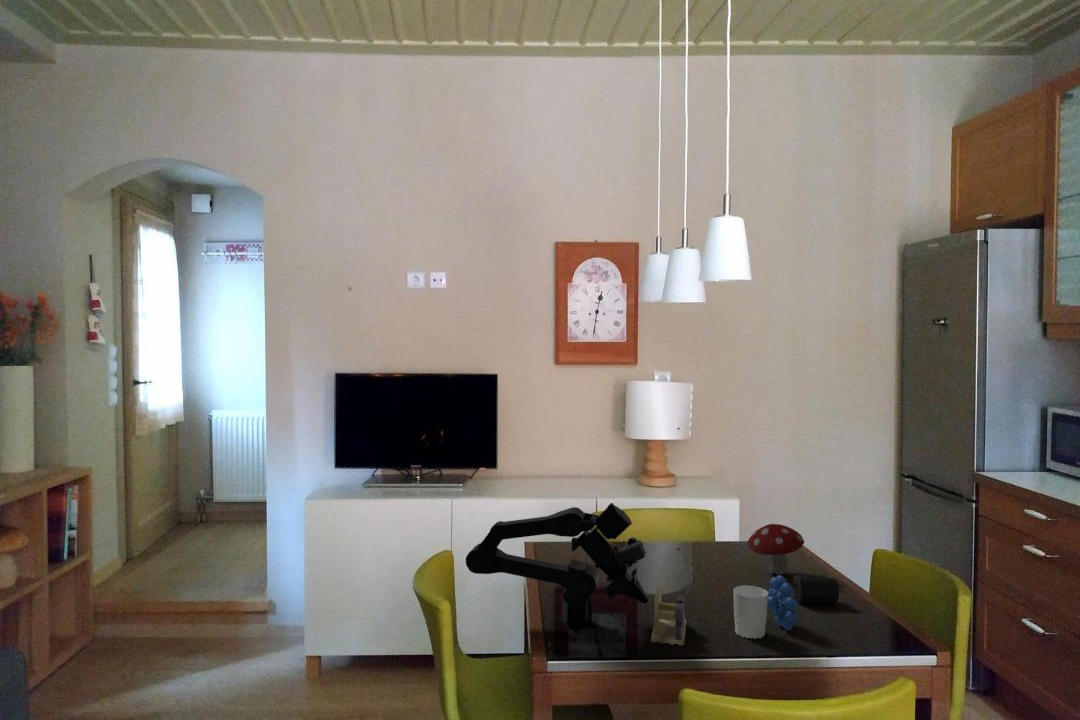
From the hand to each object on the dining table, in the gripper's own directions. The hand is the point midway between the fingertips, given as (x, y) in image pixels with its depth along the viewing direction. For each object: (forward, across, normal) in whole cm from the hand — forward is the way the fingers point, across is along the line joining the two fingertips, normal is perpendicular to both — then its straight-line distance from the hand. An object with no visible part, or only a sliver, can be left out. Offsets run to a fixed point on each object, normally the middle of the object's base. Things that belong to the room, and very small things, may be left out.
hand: (647, 602), depth 173 cm
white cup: (+22, +5, -12) cm, 25 cm away
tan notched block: (+7, 0, +1) cm, 7 cm away
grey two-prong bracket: (+10, 0, -1) cm, 10 cm away
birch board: (+8, 0, +1) cm, 8 cm away
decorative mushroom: (+28, +51, -18) cm, 61 cm away
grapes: (+26, +11, -16) cm, 33 cm away
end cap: (+34, +30, -24) cm, 52 cm away
